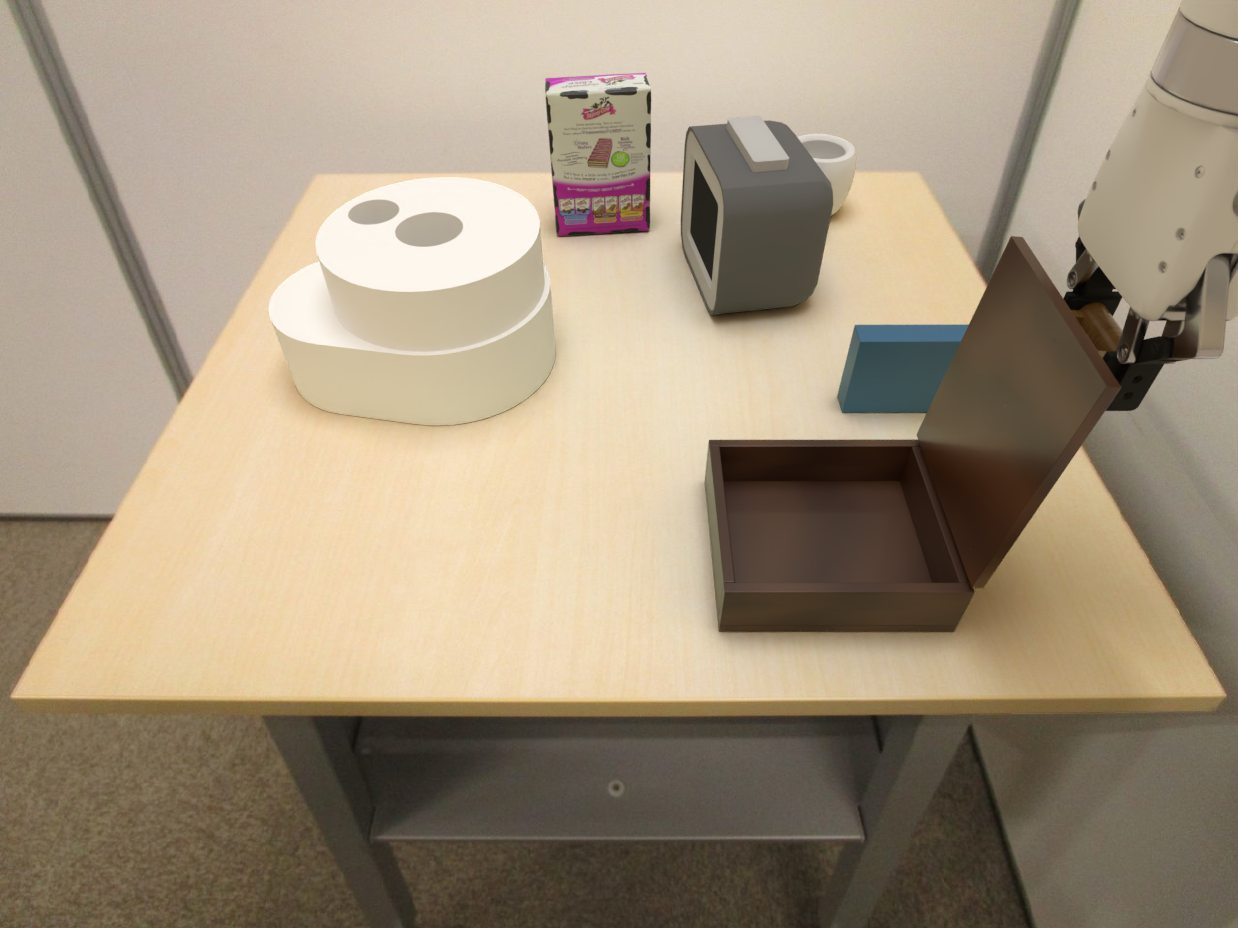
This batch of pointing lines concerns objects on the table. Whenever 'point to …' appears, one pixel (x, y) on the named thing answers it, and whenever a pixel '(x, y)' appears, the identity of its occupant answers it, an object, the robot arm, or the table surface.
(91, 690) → the table surface
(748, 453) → the box
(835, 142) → the mug
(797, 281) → the alarm clock
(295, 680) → the table surface
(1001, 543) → the lid
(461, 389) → the container
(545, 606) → the table surface
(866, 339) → the blue hardcover book
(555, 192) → the candy bar box
